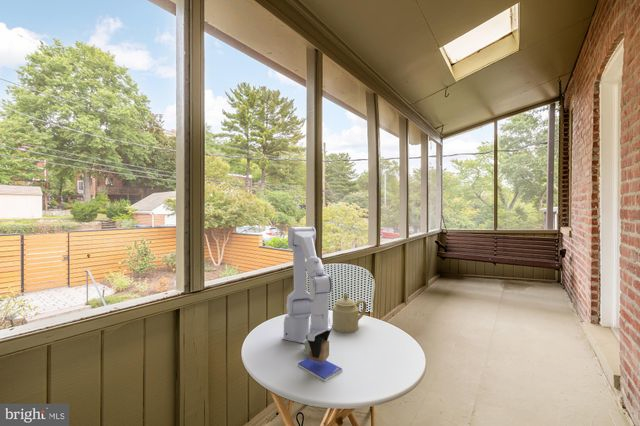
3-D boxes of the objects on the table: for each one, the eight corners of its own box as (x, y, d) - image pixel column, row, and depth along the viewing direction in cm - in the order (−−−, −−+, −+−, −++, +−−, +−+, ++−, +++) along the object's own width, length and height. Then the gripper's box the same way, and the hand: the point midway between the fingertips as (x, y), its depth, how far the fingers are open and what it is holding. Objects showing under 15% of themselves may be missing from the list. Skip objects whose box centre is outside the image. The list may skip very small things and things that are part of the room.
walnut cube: (309, 359, 103) (309, 344, 103) (315, 352, 108) (315, 338, 107) (323, 362, 101) (323, 347, 101) (328, 355, 106) (329, 340, 106)
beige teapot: (346, 317, 148) (346, 285, 147) (367, 323, 141) (368, 290, 140) (327, 328, 136) (327, 293, 135) (349, 335, 129) (350, 298, 128)
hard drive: (342, 368, 103) (315, 354, 111) (324, 378, 97) (297, 362, 106) (342, 372, 103) (315, 358, 112) (324, 383, 97) (297, 367, 106)
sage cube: (304, 354, 113) (304, 340, 113) (306, 347, 118) (306, 334, 118) (318, 355, 112) (318, 341, 112) (320, 348, 117) (320, 335, 117)
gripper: (323, 322, 95) (322, 366, 96) (338, 307, 109) (337, 346, 110) (301, 318, 98) (301, 361, 99) (319, 304, 111) (318, 342, 112)
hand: (318, 353), depth 104 cm, fingers closed on walnut cube, 5 cm apart
